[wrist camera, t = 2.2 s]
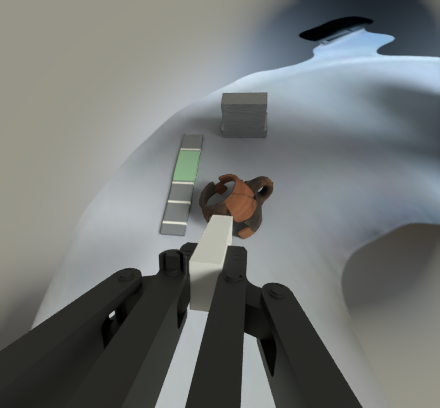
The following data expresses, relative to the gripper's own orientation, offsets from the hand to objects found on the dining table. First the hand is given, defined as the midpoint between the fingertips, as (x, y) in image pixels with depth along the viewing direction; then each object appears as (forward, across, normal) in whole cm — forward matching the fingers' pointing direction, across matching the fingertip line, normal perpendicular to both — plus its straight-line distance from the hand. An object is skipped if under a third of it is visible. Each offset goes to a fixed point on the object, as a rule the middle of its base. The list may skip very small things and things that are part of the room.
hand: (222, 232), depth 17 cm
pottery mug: (+22, 0, -5) cm, 22 cm away
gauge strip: (+25, -10, -1) cm, 27 cm away
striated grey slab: (+34, 0, +8) cm, 35 cm away
